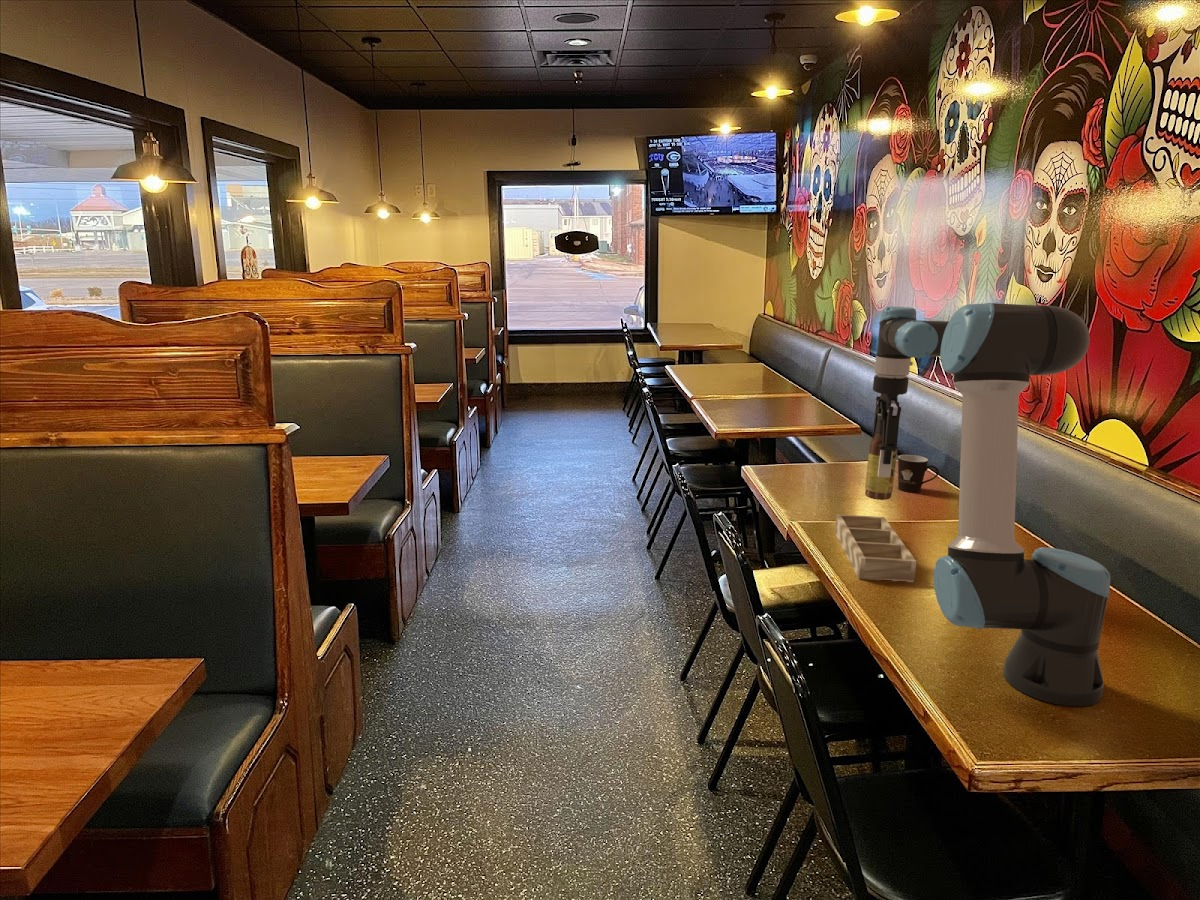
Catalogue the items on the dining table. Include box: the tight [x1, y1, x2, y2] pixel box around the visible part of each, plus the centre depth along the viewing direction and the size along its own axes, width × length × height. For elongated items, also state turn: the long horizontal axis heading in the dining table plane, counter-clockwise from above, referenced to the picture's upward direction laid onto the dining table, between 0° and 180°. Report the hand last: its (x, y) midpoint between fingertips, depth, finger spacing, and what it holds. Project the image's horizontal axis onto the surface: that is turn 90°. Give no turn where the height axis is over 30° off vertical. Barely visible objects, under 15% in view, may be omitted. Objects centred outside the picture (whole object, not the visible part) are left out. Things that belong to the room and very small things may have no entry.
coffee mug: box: [897, 454, 940, 494], centre depth 256 cm, size 12×9×10 cm
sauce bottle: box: [864, 413, 898, 501], centre depth 196 cm, size 7×6×20 cm
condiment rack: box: [834, 514, 917, 583], centre depth 201 cm, size 31×12×5 cm, turn 175°
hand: (880, 472), depth 197 cm, fingers closed on sauce bottle, 6 cm apart
